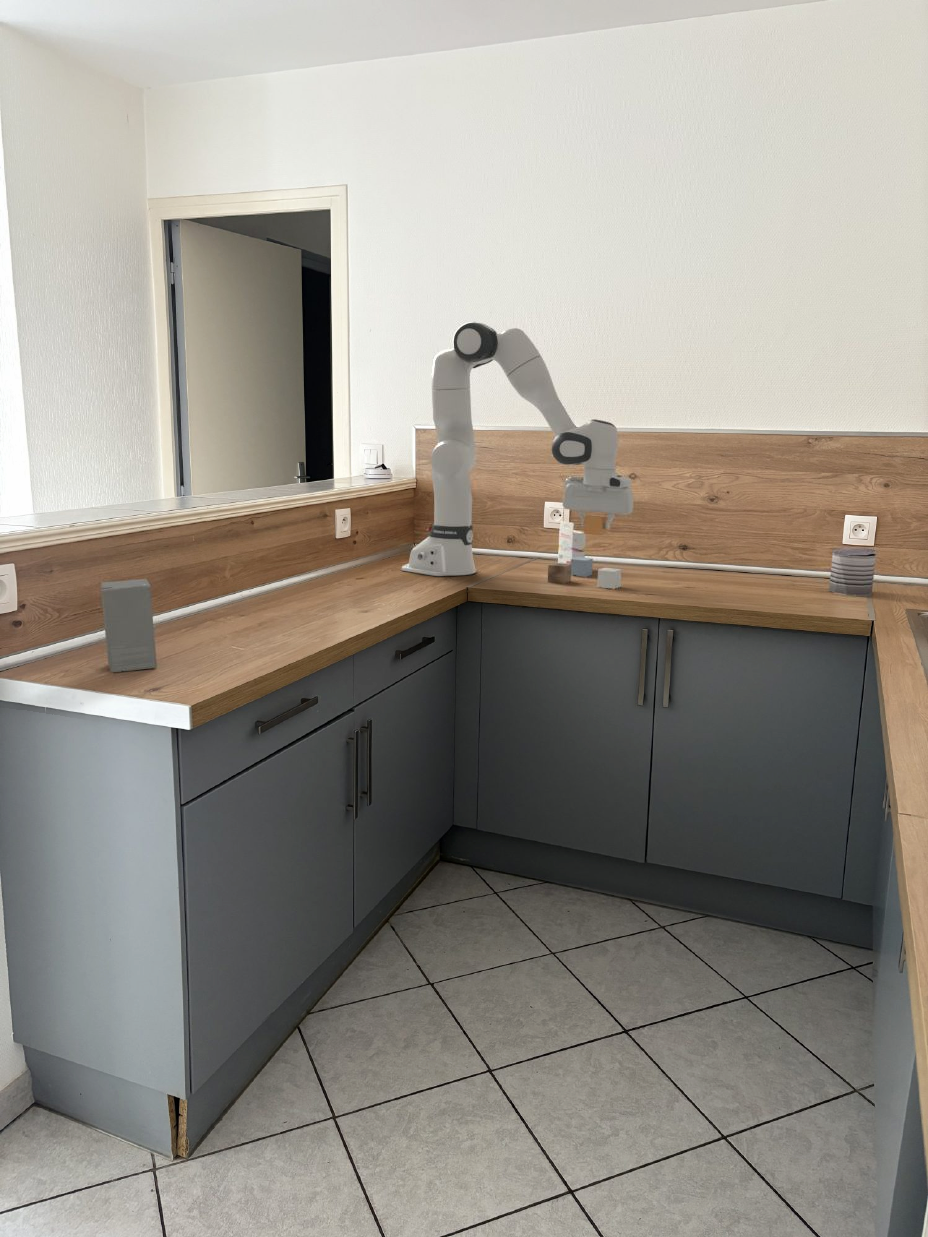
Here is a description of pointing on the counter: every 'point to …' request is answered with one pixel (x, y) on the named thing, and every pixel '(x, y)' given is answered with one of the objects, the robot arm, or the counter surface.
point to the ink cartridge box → (570, 543)
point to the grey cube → (609, 578)
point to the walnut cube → (559, 573)
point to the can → (852, 571)
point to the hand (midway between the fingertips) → (595, 527)
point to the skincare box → (128, 625)
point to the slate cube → (581, 566)
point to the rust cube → (595, 525)
